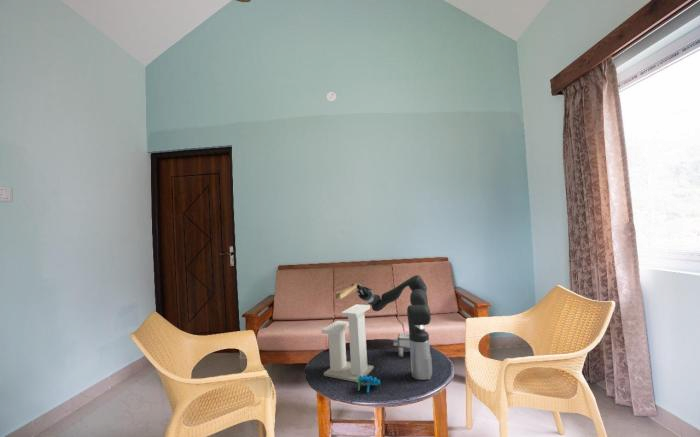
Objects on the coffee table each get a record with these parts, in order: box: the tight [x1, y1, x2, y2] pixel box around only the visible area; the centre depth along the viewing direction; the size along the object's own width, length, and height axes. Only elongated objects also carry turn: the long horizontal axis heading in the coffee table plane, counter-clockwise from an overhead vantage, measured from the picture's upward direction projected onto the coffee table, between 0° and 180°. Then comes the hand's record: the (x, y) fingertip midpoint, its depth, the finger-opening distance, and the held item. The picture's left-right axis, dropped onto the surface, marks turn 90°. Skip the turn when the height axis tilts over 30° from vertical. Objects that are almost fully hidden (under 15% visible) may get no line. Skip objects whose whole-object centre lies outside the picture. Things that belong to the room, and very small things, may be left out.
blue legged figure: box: [355, 375, 381, 394], centre depth 136 cm, size 11×6×10 cm
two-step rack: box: [321, 303, 375, 383], centre depth 155 cm, size 20×16×32 cm
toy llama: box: [393, 325, 426, 358], centre depth 172 cm, size 8×18×20 cm, turn 78°
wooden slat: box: [334, 283, 362, 300], centre depth 171 cm, size 3×25×3 cm, turn 152°
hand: (354, 285), depth 177 cm, fingers closed on wooden slat, 3 cm apart
